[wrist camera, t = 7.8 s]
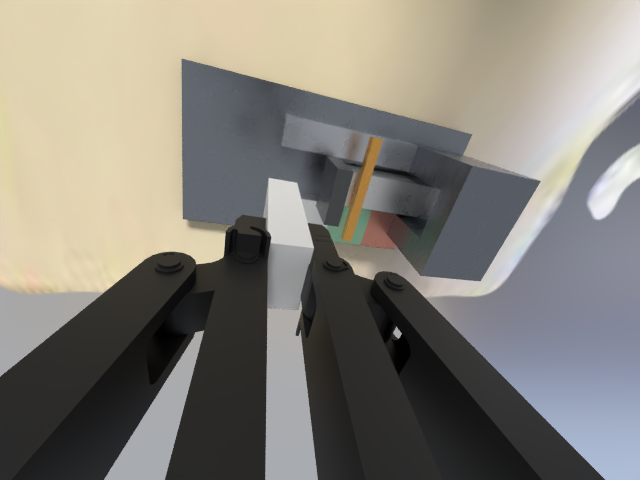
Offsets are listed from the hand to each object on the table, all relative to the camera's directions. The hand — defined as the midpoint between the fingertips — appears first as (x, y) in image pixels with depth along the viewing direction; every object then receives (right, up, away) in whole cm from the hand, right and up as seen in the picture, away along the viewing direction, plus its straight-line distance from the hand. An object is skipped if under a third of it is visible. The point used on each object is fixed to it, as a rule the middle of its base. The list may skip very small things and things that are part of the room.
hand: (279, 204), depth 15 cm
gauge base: (+3, +5, +12) cm, 13 cm away
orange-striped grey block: (+8, +3, +12) cm, 15 cm away
